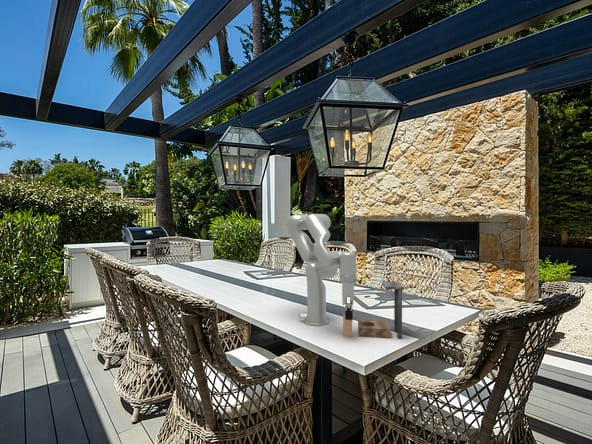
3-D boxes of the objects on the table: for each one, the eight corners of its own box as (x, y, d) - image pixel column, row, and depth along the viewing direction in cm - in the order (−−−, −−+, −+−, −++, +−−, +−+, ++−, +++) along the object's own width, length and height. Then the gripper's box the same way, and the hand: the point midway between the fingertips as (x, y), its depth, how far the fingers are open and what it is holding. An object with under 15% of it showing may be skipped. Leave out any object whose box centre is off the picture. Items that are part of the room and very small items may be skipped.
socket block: (358, 336, 150) (358, 285, 150) (358, 327, 162) (358, 281, 162) (403, 339, 147) (403, 287, 147) (399, 330, 159) (399, 282, 159)
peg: (343, 336, 150) (343, 314, 150) (343, 333, 154) (343, 312, 154) (352, 336, 150) (352, 314, 149) (352, 333, 154) (352, 312, 153)
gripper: (340, 276, 161) (341, 311, 160) (339, 282, 143) (340, 321, 143) (356, 276, 159) (356, 312, 159) (356, 282, 142) (357, 322, 142)
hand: (349, 316), depth 151 cm, fingers open, 9 cm apart
